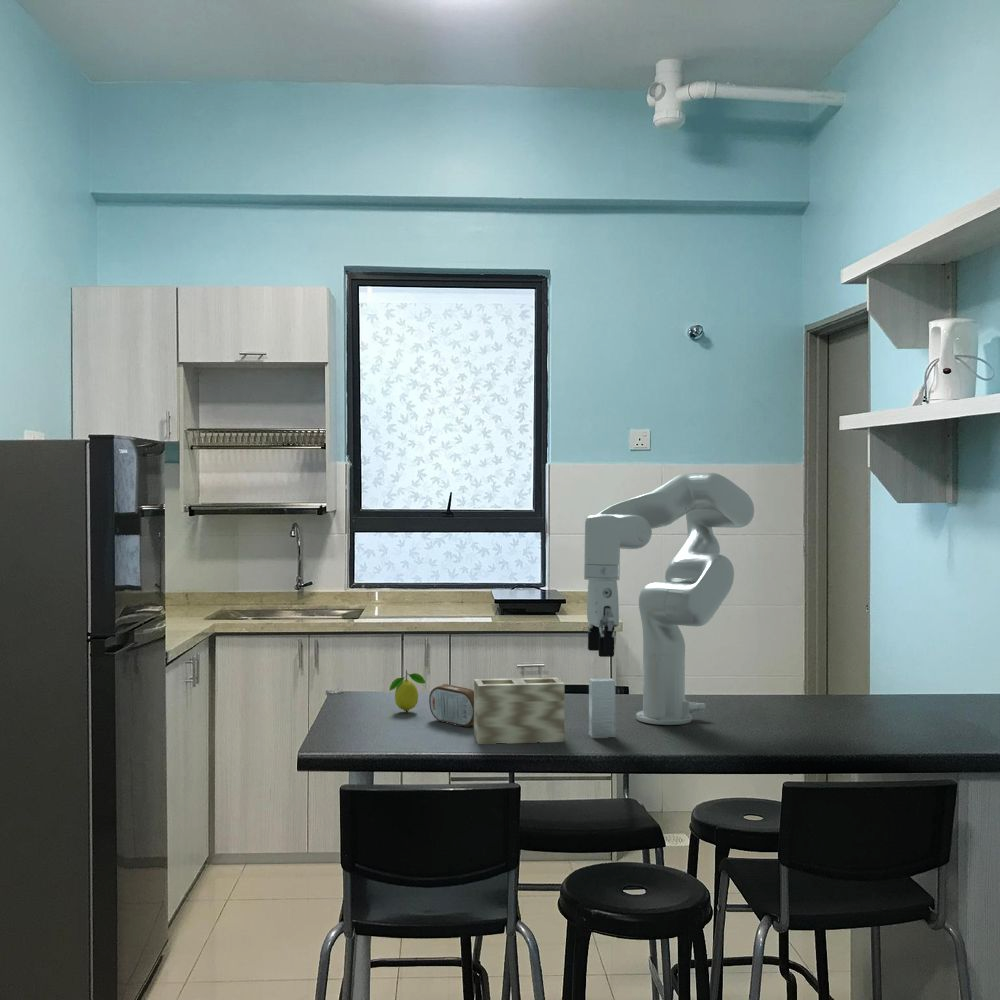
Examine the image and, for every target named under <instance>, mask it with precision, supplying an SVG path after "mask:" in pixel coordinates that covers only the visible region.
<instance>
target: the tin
mask: <svg viewBox="0 0 1000 1000" xmlns="http://www.w3.org/2000/svg"><path fill="white" fill-rule="evenodd" d="M428 697H429V699H428V702H429V710H430V712H431V714H432V715H433V716H432V717H433V718H434V719H435V720H437V721H438V720H439V721H438V722H440V721H443V722H442V723H444V722H448V723H451V724H450V725H453V724H456V725H455V726H457V725H460V726H459V727H461V726H464V727H463V728H469V727H472V725H473V726H474V689H471V688H468V687H462V686H456V685H452V684H448V683H444V684H441V685H438V686H435V687H434V688H432V690H431V691H430V693H429V696H428ZM448 723H447V724H448Z"/></svg>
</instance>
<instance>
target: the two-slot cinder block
mask: <svg viewBox="0 0 1000 1000" xmlns="http://www.w3.org/2000/svg"><path fill="white" fill-rule="evenodd" d="M473 691H474V725H473V736H475V737H474V738H476V739H475V741H476V742H477V745H497V744H496V743H507V744H533V743H535V744H536V743H537V742H540V743H564V742H565V683H564V682H563V681H562V680H560V678H558V677H518V678H517V677H516V678H512V677H510V678H474V679H473ZM560 741H561V742H560ZM563 741H564V742H563Z"/></svg>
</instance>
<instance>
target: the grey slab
mask: <svg viewBox="0 0 1000 1000" xmlns="http://www.w3.org/2000/svg"><path fill="white" fill-rule="evenodd" d="M589 735H590V736H591V737H592V738H591V737H590V736H589ZM588 736H589V737H590V738H591V739H607V738H608V737H615V738H616V680H615V679H613V678H589V679H588ZM608 739H609V738H608Z"/></svg>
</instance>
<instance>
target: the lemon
mask: <svg viewBox="0 0 1000 1000" xmlns="http://www.w3.org/2000/svg"><path fill="white" fill-rule="evenodd" d="M408 676H409V677H410V678H411V680H412V681H414V682H415V683H417V684H426V681H425V678H424V677H423V676H422V675H421V674H419V673H410V674H409V673H408V671H407V669H406V670H405V676H404V677H397V678H395V679H394V680H393V681H392V682H391V684H390V686H389V691H393V690H394V689H395V692H394V701H395V705H396V706H397V707H398V708H399V709H401V710H403V712H404V711H408V712H409V711H410V710H411V709H414V708H415V707H416V706H417V704H418V701H419V693H418V689H417V687H416V684H414V682H412V681H409V679H408Z"/></svg>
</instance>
